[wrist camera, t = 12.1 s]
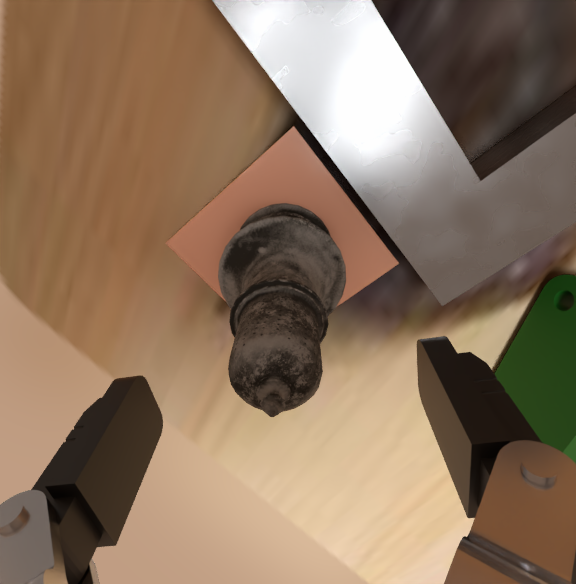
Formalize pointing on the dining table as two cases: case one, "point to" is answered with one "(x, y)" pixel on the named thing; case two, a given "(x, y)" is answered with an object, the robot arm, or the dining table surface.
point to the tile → (293, 190)
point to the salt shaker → (280, 304)
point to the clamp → (546, 366)
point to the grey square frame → (413, 142)
